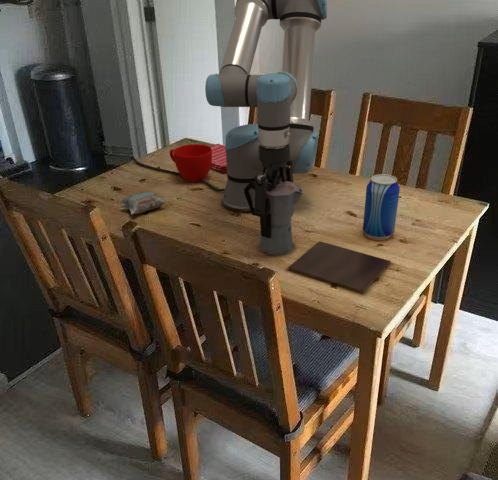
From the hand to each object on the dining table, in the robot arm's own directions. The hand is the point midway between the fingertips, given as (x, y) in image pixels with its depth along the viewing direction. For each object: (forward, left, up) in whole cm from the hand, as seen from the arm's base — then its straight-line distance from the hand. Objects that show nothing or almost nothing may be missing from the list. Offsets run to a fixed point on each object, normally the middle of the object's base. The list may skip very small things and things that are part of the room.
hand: (275, 229), depth 141 cm
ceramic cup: (-52, +27, -5) cm, 59 cm away
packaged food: (-47, -1, -5) cm, 47 cm away
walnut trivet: (+19, 0, -5) cm, 20 cm away
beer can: (+20, +21, -5) cm, 29 cm away
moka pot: (0, 0, -5) cm, 5 cm away
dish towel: (-53, +46, -5) cm, 70 cm away
